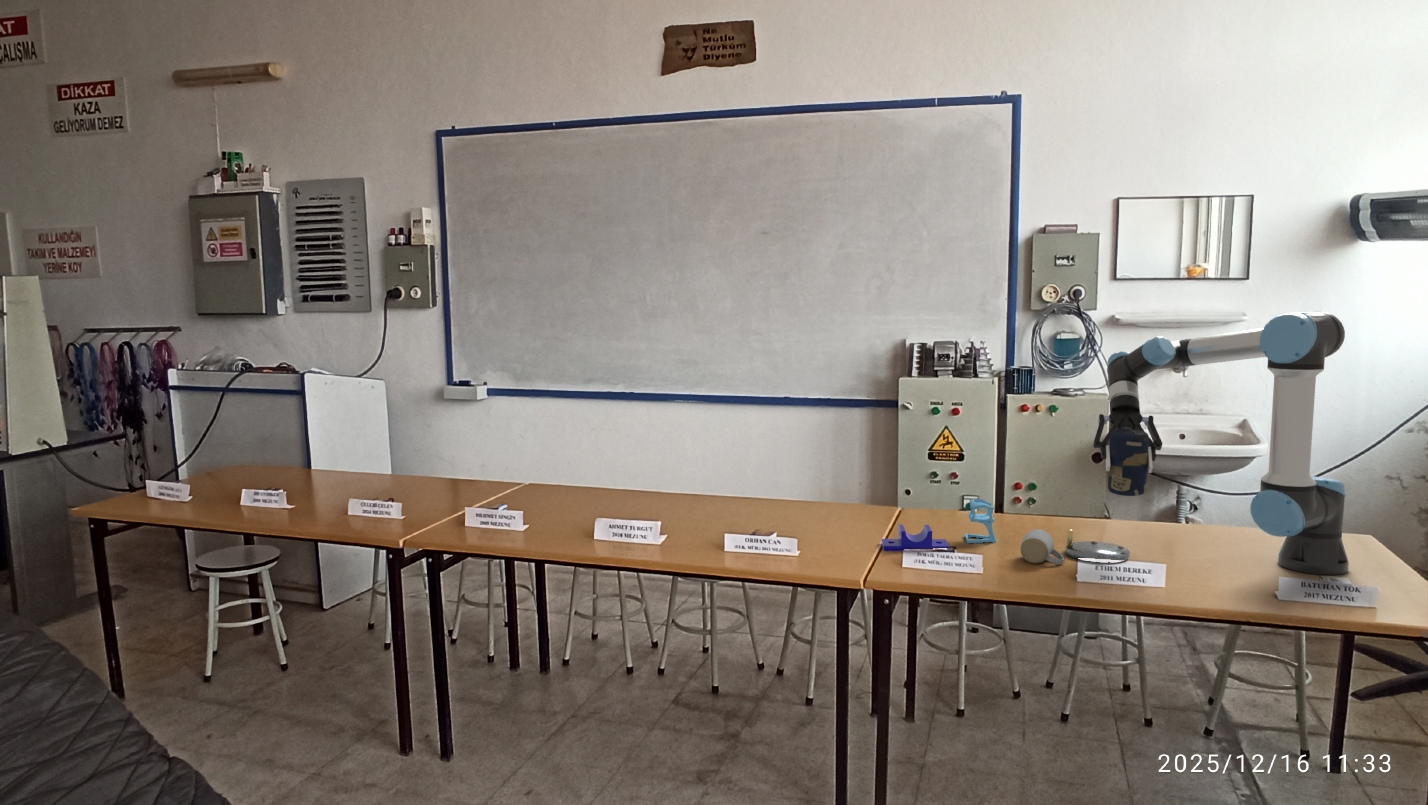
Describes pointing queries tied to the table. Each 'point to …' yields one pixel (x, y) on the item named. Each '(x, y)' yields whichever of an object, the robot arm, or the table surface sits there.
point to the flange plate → (1094, 549)
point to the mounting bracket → (913, 541)
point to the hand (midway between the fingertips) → (1129, 469)
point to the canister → (1128, 462)
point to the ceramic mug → (1039, 548)
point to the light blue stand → (981, 521)
